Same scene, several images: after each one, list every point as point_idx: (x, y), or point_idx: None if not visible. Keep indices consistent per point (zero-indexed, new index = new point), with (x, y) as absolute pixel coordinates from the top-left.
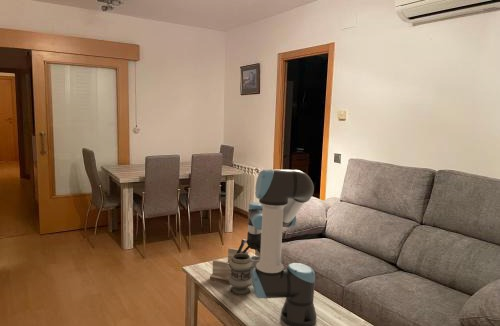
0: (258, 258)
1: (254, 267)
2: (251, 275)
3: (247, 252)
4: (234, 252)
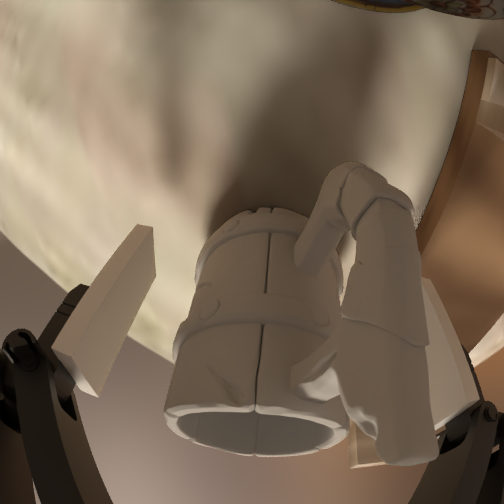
0: (231, 431)
1: (260, 293)
2: (299, 221)
3: (357, 460)
4: (442, 428)
